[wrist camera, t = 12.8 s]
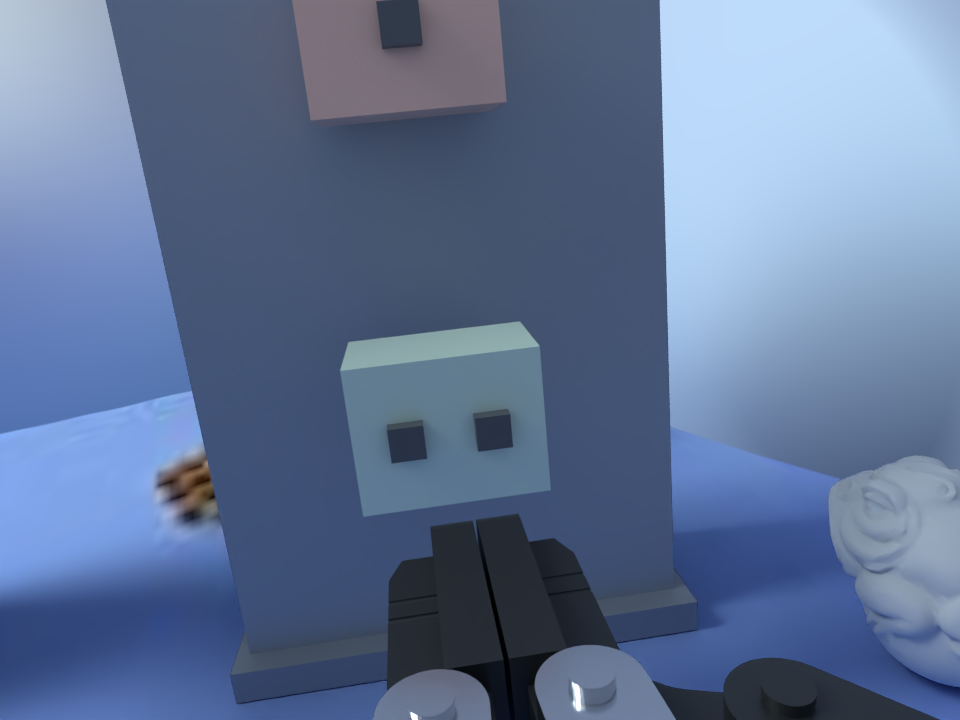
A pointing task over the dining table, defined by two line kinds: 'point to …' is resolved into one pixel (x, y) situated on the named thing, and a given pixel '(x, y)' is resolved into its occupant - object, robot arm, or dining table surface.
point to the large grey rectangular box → (409, 303)
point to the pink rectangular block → (399, 58)
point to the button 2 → (446, 417)
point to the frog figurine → (905, 559)
